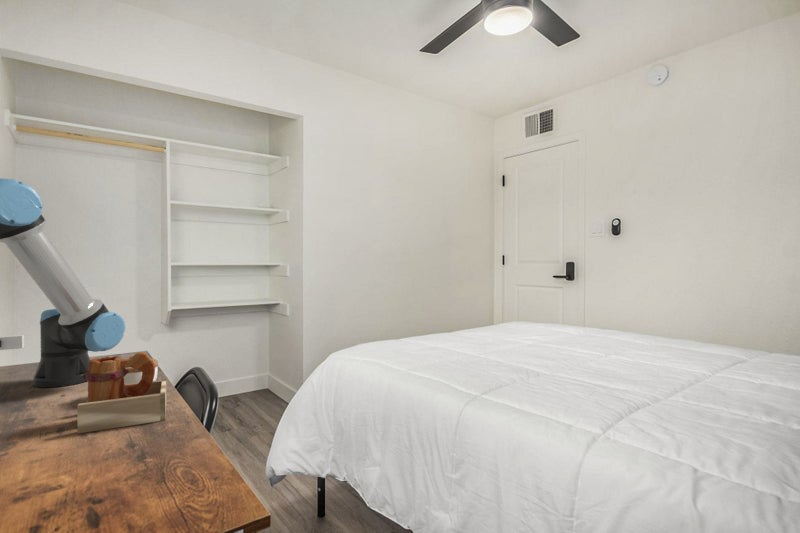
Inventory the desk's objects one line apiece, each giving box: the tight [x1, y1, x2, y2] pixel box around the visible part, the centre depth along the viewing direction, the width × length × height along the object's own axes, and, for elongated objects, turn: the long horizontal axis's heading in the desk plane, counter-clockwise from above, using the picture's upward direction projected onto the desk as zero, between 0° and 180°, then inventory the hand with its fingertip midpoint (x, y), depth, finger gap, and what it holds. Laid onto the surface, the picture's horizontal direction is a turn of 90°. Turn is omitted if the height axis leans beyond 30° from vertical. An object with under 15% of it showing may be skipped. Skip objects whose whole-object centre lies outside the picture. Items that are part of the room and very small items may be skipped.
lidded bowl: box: [124, 355, 159, 384], centre depth 117 cm, size 13×13×11 cm
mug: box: [82, 351, 155, 403], centre depth 101 cm, size 15×8×15 cm, turn 117°
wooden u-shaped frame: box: [77, 379, 167, 434], centre depth 101 cm, size 15×16×6 cm
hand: (23, 341), depth 92 cm, fingers closed
